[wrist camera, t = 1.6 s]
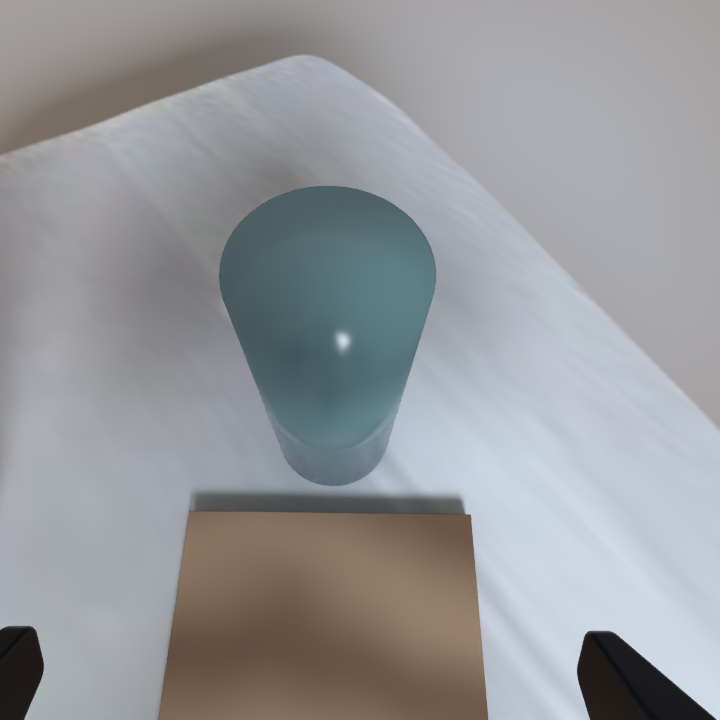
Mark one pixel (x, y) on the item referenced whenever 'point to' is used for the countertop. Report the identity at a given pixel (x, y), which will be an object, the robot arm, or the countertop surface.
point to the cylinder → (329, 321)
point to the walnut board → (326, 619)
